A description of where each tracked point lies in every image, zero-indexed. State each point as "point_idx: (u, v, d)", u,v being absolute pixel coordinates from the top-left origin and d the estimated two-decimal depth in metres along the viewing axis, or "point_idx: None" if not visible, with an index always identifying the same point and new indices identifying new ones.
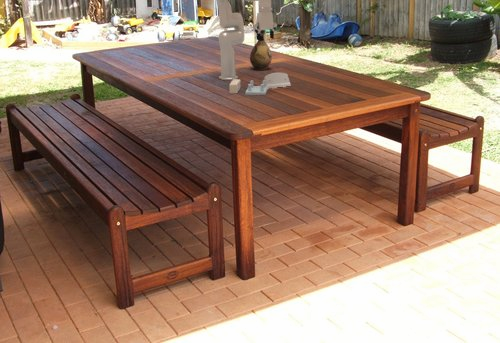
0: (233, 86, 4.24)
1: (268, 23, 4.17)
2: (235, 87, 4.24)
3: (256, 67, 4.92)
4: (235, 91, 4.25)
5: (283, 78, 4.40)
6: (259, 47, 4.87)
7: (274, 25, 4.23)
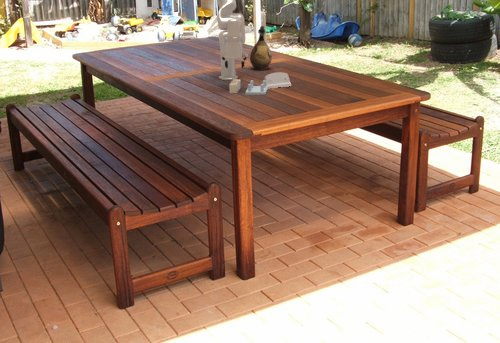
0: (233, 86, 4.24)
1: None
2: (235, 87, 4.24)
3: (256, 67, 4.92)
4: (235, 91, 4.25)
5: (283, 78, 4.39)
6: (259, 47, 4.87)
7: (223, 55, 4.26)
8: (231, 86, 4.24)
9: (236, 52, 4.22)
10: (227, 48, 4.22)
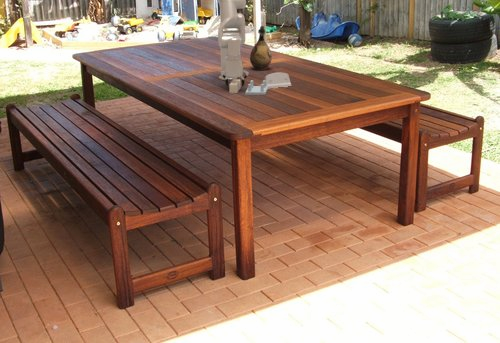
0: (233, 86, 4.24)
1: None
2: (235, 87, 4.24)
3: (256, 67, 4.92)
4: (235, 91, 4.25)
5: (284, 78, 4.39)
6: (259, 47, 4.87)
7: (223, 73, 4.30)
8: (231, 86, 4.24)
9: (236, 70, 4.26)
10: (227, 66, 4.26)
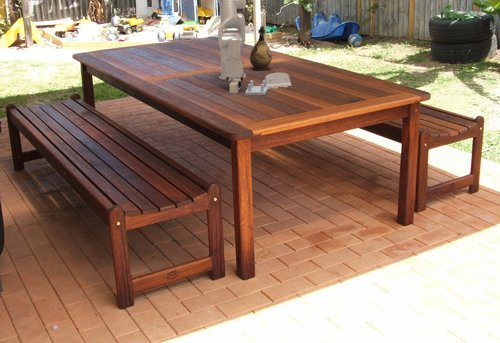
0: (233, 86, 4.24)
1: None
2: (235, 87, 4.24)
3: (256, 67, 4.92)
4: (235, 91, 4.25)
5: (284, 78, 4.39)
6: (259, 47, 4.87)
7: None
8: (231, 86, 4.24)
9: (236, 71, 4.26)
10: (228, 67, 4.26)
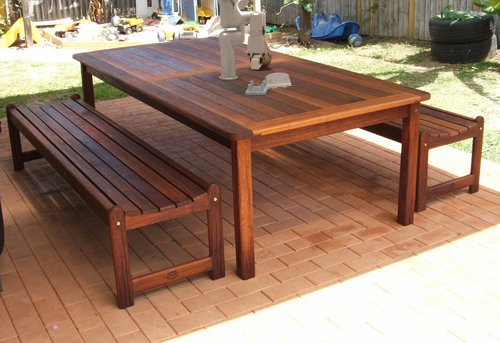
0: (255, 61, 4.14)
1: None
2: (257, 63, 4.15)
3: None
4: (257, 67, 4.15)
5: (284, 78, 4.39)
6: None
7: (247, 51, 4.21)
8: (253, 62, 4.15)
9: (258, 46, 4.17)
10: (249, 42, 4.17)
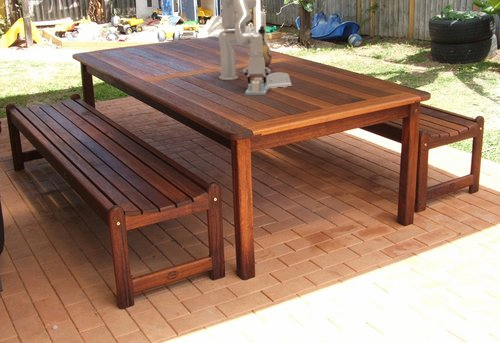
0: (255, 84, 4.19)
1: None
2: (257, 85, 4.19)
3: None
4: (257, 89, 4.20)
5: (284, 78, 4.39)
6: None
7: None
8: (253, 84, 4.19)
9: (259, 67, 4.21)
10: (250, 63, 4.21)
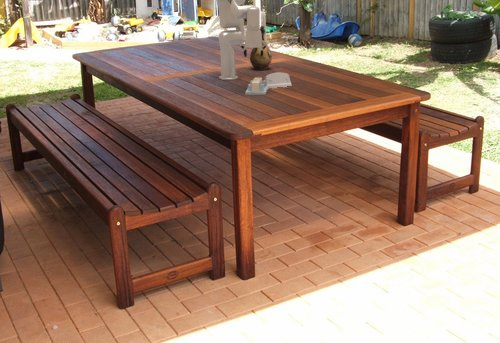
0: (255, 84, 4.19)
1: None
2: (257, 85, 4.19)
3: (256, 67, 4.92)
4: (257, 89, 4.20)
5: (284, 78, 4.39)
6: None
7: (242, 43, 4.22)
8: (253, 84, 4.19)
9: (255, 41, 4.18)
10: (246, 37, 4.18)
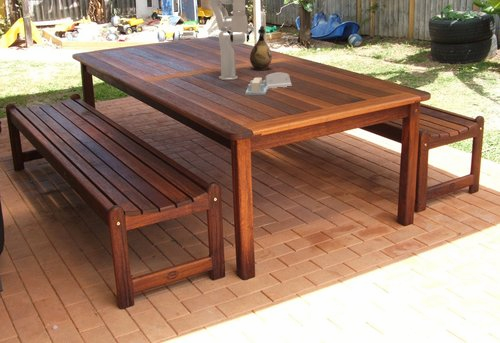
0: (255, 84, 4.19)
1: None
2: (257, 85, 4.19)
3: (256, 67, 4.92)
4: (257, 89, 4.20)
5: (284, 78, 4.39)
6: (259, 47, 4.87)
7: (228, 29, 4.32)
8: (253, 84, 4.19)
9: (241, 26, 4.28)
10: (232, 22, 4.28)
